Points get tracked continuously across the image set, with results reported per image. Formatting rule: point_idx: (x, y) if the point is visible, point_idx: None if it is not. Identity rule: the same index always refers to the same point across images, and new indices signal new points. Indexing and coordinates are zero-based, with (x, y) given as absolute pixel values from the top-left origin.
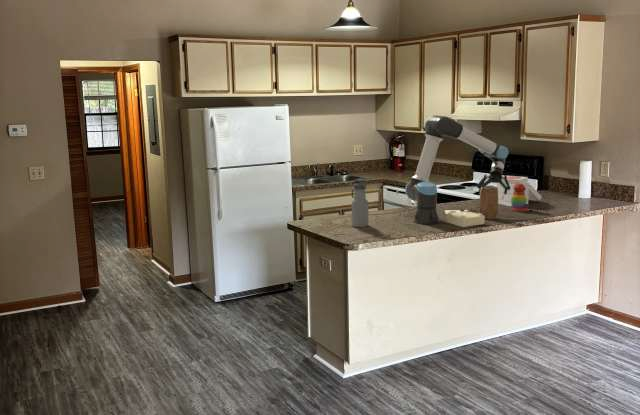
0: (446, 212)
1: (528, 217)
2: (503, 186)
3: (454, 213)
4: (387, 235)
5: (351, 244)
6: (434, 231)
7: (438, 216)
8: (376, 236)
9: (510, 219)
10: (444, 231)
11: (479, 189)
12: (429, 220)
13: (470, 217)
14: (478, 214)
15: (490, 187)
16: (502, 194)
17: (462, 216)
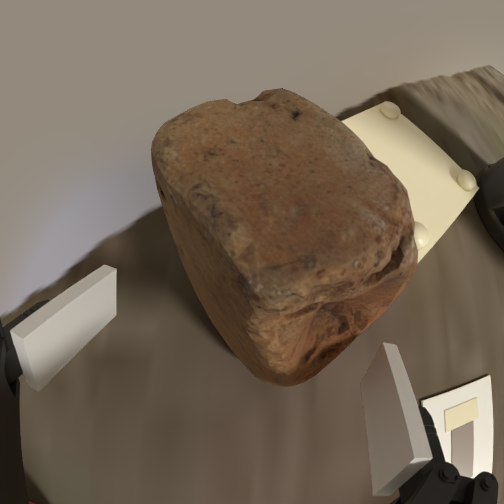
0: (489, 428)
1: None
2: (2, 382)
3: (453, 195)
4: (489, 92)
5: (489, 65)
6: (431, 96)
7: (491, 191)
8: (497, 91)
9: (121, 297)
10: (408, 92)
11: (433, 436)
12: (491, 164)
13: (361, 113)
14: None
15: (278, 120)
16: (94, 284)
17: (392, 103)
